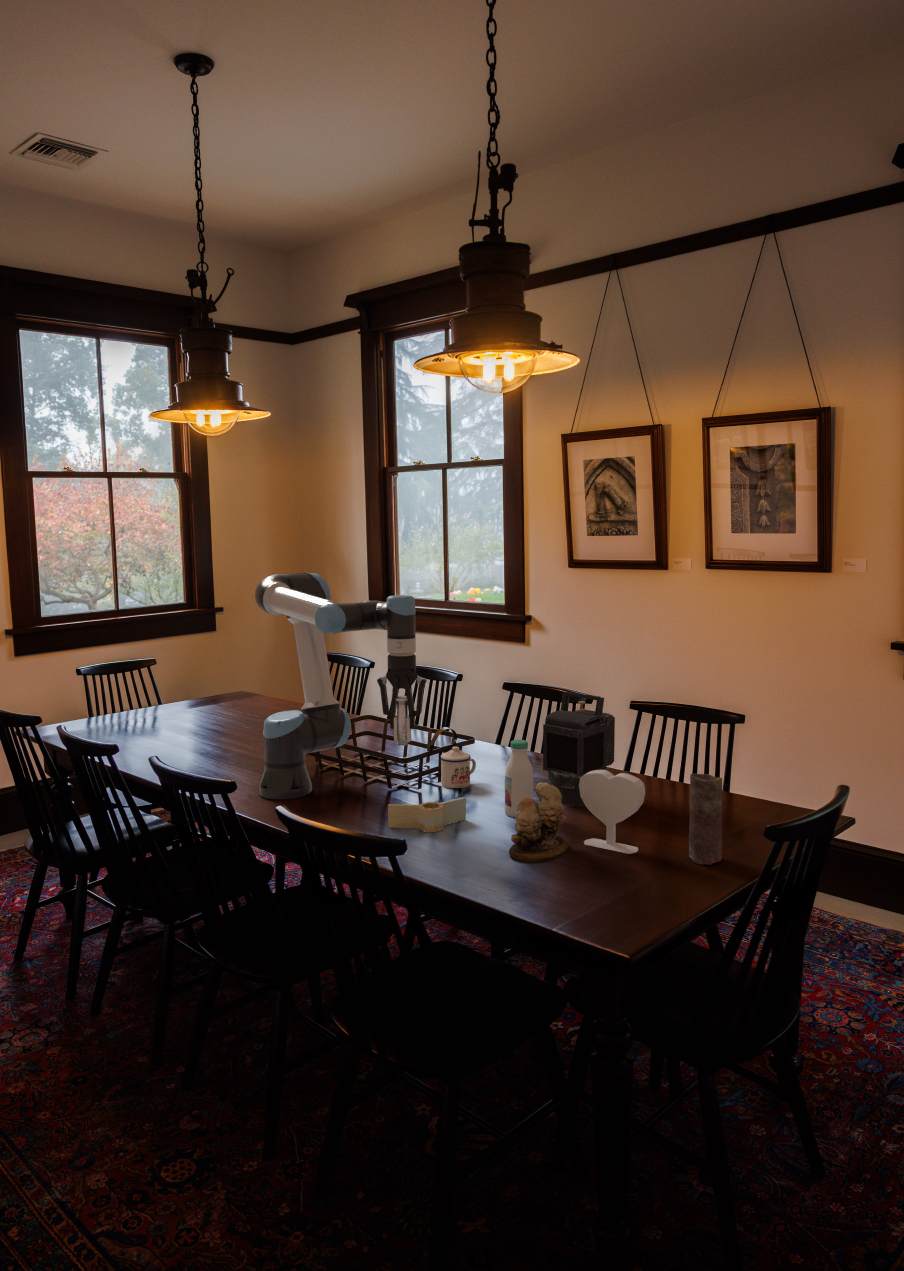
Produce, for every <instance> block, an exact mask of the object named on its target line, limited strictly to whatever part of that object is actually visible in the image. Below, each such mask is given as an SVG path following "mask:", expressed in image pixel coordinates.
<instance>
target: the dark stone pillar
mask: <svg viewBox="0 0 904 1271" xmlns="http://www.w3.org/2000/svg"><path fill="white" fill-rule="evenodd" d="M688 830H689V833H688V847H689V848H688V856H689V858H690V859H691V860H692V861H693V863H694V864H695V863H696V864H697V865H708V866H709V865H713V864H714V863H718V862H721V860H722V859H723V778H722V777H719V776H715V775H712V774H709V773H704V774H703V773H690V776H689V829H688Z"/></svg>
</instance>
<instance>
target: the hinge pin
mask: <svg viewBox="0 0 904 1271" xmlns="http://www.w3.org/2000/svg"><path fill="white" fill-rule="evenodd" d="M395 700H396V701H397V707H396V716H397V735H398V741H397V745H398V746H408V745H409V742H407V717H408V716H409V711H408V704H407V697H406V695H398V697H397V698H395Z"/></svg>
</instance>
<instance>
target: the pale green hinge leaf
mask: <svg viewBox="0 0 904 1271" xmlns="http://www.w3.org/2000/svg"><path fill="white" fill-rule="evenodd" d="M440 803H441V804H443V805H444V813H443V815H442V816H438V817H434V818H433V817H423V816H420V815H418V822H419V823H421V824H424V825H437V824H441V823H443V820H444V825H445V826H448V825H447V824H449V825H452V824H451V823H453V824H456V823H458V822H457V821H460V822H462V821H461V820H464V821H466V820H467V805H466V804H467V799H466V797H464V796H462V797H457V798H453V799H450V800H449V799H448V800H446V801H443V802H442V801H441V802H440ZM465 819H466V820H465ZM455 822H456V823H455Z"/></svg>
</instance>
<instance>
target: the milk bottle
mask: <svg viewBox="0 0 904 1271" xmlns="http://www.w3.org/2000/svg"><path fill="white" fill-rule="evenodd" d="M528 747H529V741H527V740H525V739H513V740H511V741H510V750H511V751H510V752H511V753H510V757H509V760H507V761H508V762H507V764H506V766H505V772H504V813H505V815H506V816H509V817H512V818H516V813H517V807H518V805H519V803H520V799H521V798H523V797H529V798H532V799H533V800H534V798H535V797H534V792H535V791H534V784H535V783H534V780H535V779H534V769H533V765H532V762H531V761H530V758H529V756H528V750H529V748H528Z"/></svg>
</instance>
